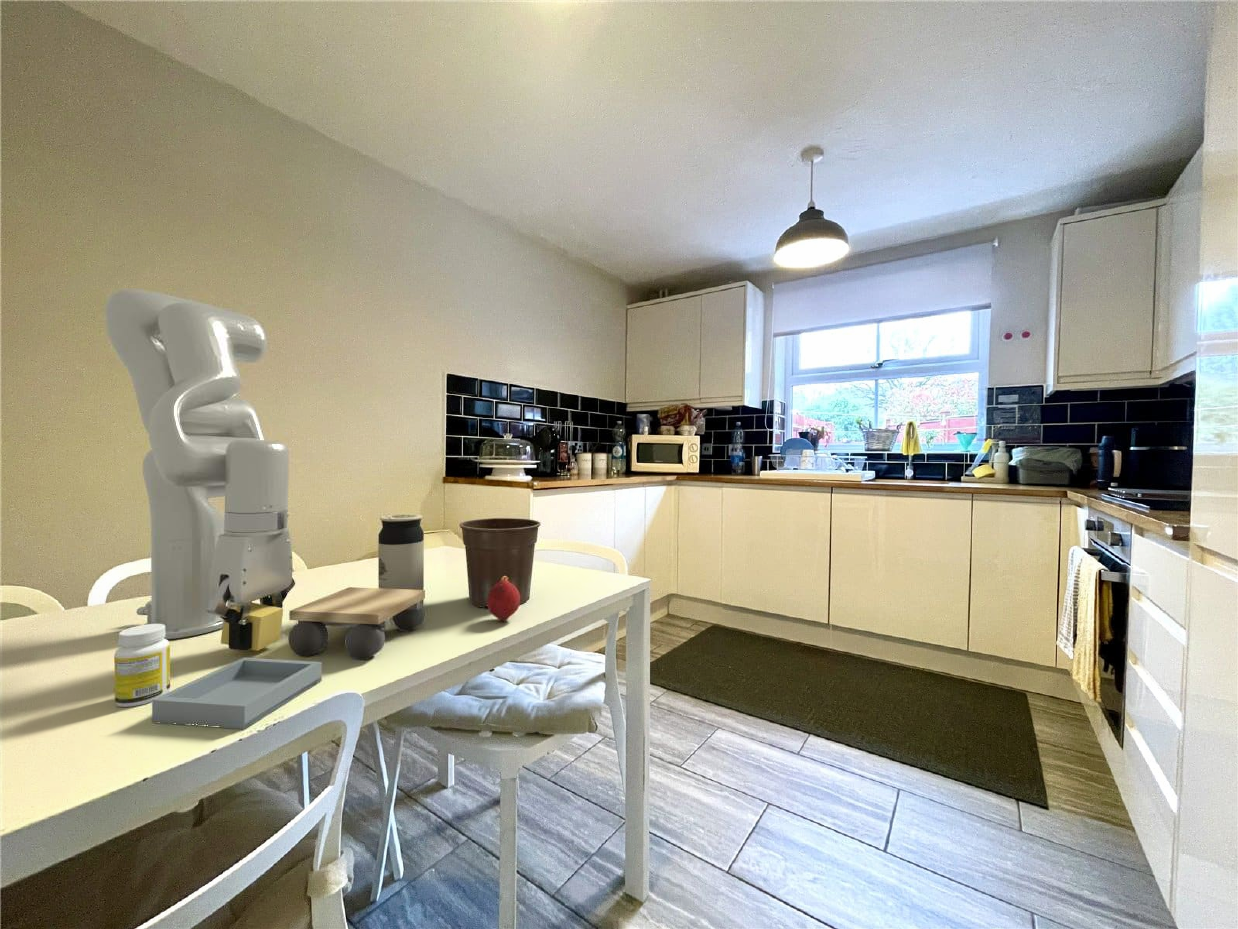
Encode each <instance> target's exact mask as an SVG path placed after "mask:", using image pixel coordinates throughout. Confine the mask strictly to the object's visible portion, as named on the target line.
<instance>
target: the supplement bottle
mask: <svg viewBox="0 0 1238 929" xmlns="http://www.w3.org/2000/svg"><path fill="white" fill-rule="evenodd" d="M165 634H166V633H165V625H164V624H147V625H144V624H143V625H136V626H133V627H130V628H127V629H123V630H122V631H120V632H119V633H118V641H117V644H118V647H119V648H117V650H116V651H115V652H114V656H113V657H114V703H115V705H116V706H117V707H120V708H123V707H124V708H127V707H137V706H141V705H142V706H143V705H146V704H149V703H152V700H153V699H155V698H157V697H160V696H162V695H164V694H166V693H168V692H170V691H171V656H170V655H171V654H170V653H171V648H170V647H171V644H170V641H169V639H163V638H164V637H165Z"/></svg>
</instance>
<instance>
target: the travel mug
mask: <svg viewBox="0 0 1238 929" xmlns="http://www.w3.org/2000/svg"><path fill="white" fill-rule="evenodd" d="M422 519H423V515H421V514H414V513H413V514H412V513H409V514H405V513H404V514H390V515H382V516H380V518H379V520H380V521H381V530H380V531H379V532H378V541H377V542H378V559H377V560H378V564H377V565H378V569H377V570H378V577H377V578H378V582H377V583H378V584H377V585H378V587H377V588H381V589H408V590H425V586H424V585H425V584H424V583H425V582H424V581H425V580H424V576H425V575H424V574H425V572H424V570H425V569H424V568H425V567H424V566H425V562H424V561H425V560H424V558H425V556H424V555H425V554H424V550H425V544H424V543H425V536H424V535H425V532H424V530H423V528H422V526H421V520H422ZM424 601H425V600H424V599H423V600H421V601H420V602H421V603H422V604H423V606H424V605H425V604H424V603H425V602H424Z"/></svg>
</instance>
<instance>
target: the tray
mask: <svg viewBox="0 0 1238 929" xmlns="http://www.w3.org/2000/svg"><path fill="white" fill-rule="evenodd" d="M321 682H322V661H312V660H311V661H310V660H309V661H307V660H293V659H291V660H290V659H274V658H255V657H242V658H240V659H237V660H236V661H234V662H231V663H229V664H227V665H225V666H222V667H220V668H218V669H216V670H214V671H212V672H209V673H208V674H205V675H203V676H201V677H199V678H196V679H195V680H192V681H190V682H187V683H186V684H184V685H181V686H179V687H177V688H175V689H172V690H170V691H169V692H168V693H166V694H164V695H162V696H160V697H157V698H155V699H153V700H152V702H151V706H152V707H151V718H152V719H151V720H152V722H156V723H157V722H160V723H159V724H165V723H172V724H171V725H178V724H191V725H190V726H192V724H194V725H196V724H197V725H206V726H207V725H208V726H219V727H224V728H223V729H234V730H246V729H248V728H249V727H251V726H252V725H254V724H256V723H258V722H259V721H261V720H262V719H264V718H265V717H266V716H269V715H270V714H272V713H273V712H275V711H276V710H278V709H280V708H281V707H282V706H284V705H285V704H288V703H289V702H291V701H293V699H295V698H297V697H298V696H301V695H302V694H304V693H305V692H307V691H308V690H309V689H311V688H313V687H315V686H316V685H318V684H319V683H321ZM152 722H151V723H152ZM174 723H176V724H174ZM157 724H158V723H157Z"/></svg>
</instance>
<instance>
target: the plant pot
mask: <svg viewBox="0 0 1238 929" xmlns="http://www.w3.org/2000/svg"><path fill="white" fill-rule="evenodd" d="M541 524H542V523H541V521H539V520H535V519H529V518H516V517H515V518H514V517H513V518H511V517H494V518H493V517H492V518H491V517H490V518H479V519H471V520H470V519H469V520H466V521H463V522H460V523H459V528H460V529H461V533H462V541H463V542H462V544H463V545H464V549H465V550H464V551H465V560H466V570H467V575H466V576H467V583H468V584H467V586H468V599H469V600H468V601H469V603H470V604H472V606H475V607H479V608H483V609H484V608H487V607H488V606H487V597H488V595H489V592H490V591H491V589H492V588H493V587H494V586H495V585H496V584H497V583H499V582H500V580H501V578H502V577H503V576H507V577H508V582H510V583H512V584H513V585H514V586H515V587H516V588H517V589H518V591H519V593H520V605H523V604H525V603H527V601H528V600H529V599H530V596H531V584H532V577H533V576H532V575H533V566H534V558H535V557H534V556H535V547H536V543H537V541H538V535H539V534H538V533H539V527H540V526H541Z"/></svg>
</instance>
